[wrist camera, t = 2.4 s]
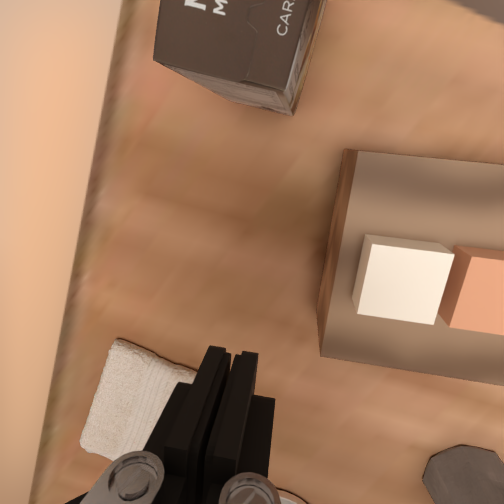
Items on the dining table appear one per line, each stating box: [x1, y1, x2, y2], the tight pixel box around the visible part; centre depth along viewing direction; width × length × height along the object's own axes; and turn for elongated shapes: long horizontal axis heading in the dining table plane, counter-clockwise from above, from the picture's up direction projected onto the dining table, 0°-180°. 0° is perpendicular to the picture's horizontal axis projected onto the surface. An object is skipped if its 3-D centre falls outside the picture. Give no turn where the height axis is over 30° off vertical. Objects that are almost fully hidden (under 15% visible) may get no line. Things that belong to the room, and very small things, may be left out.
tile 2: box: [352, 234, 455, 325], centre depth 23 cm, size 5×5×2 cm
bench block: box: [316, 149, 504, 386], centre depth 28 cm, size 16×16×8 cm
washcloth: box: [79, 339, 197, 461], centre depth 41 cm, size 12×18×3 cm, turn 158°
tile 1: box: [437, 245, 504, 335], centre depth 22 cm, size 5×5×2 cm
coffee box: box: [153, 0, 327, 116], centre depth 21 cm, size 9×6×16 cm
